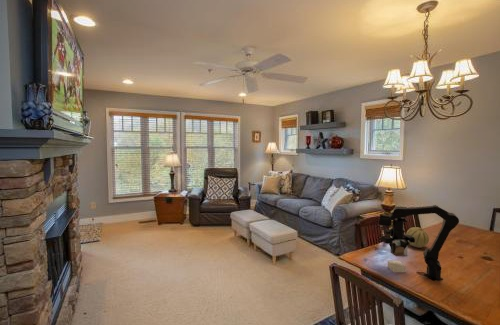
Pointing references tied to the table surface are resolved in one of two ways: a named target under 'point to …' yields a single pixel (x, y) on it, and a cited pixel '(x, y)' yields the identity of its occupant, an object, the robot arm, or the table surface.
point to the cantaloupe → (418, 237)
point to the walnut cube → (398, 251)
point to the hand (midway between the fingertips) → (397, 252)
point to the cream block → (396, 266)
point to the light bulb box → (404, 249)
